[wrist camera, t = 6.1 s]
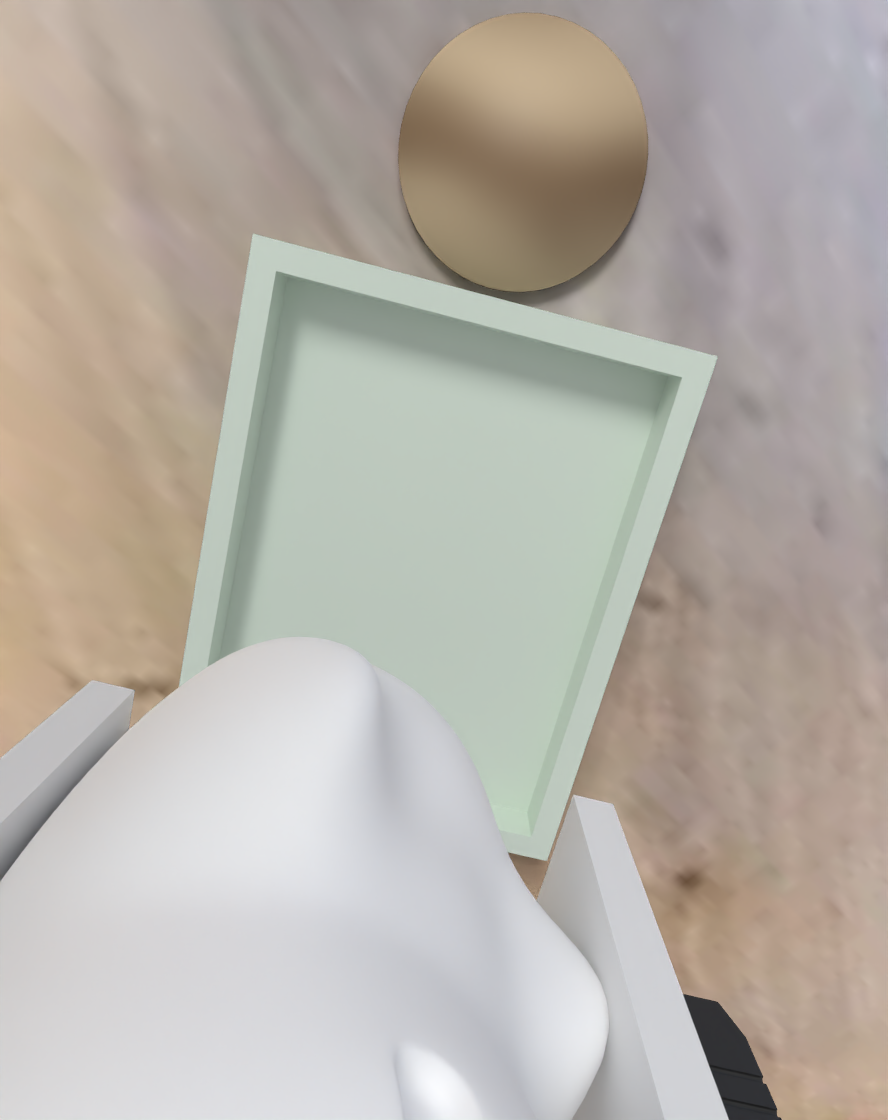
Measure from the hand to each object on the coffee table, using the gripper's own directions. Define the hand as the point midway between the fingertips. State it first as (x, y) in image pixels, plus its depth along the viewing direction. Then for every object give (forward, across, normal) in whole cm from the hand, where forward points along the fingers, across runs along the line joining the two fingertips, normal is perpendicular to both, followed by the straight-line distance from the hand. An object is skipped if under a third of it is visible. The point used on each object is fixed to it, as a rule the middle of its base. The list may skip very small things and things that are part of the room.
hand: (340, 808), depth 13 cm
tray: (+18, +1, 0) cm, 18 cm away
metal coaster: (+18, 0, +16) cm, 24 cm away
